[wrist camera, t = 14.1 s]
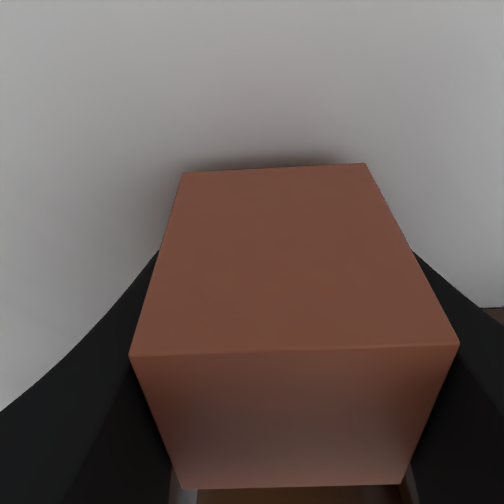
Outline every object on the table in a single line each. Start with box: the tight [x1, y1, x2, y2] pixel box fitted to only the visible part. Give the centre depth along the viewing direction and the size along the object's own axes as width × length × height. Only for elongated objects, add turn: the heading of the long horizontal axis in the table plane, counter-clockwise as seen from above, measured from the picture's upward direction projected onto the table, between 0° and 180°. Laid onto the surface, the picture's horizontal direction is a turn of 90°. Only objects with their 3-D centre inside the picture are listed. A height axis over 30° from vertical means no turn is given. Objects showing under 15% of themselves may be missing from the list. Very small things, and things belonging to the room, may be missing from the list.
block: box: [128, 163, 460, 490], centre depth 9 cm, size 4×4×6 cm
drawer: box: [168, 466, 403, 504], centre depth 15 cm, size 18×11×6 cm, turn 93°
